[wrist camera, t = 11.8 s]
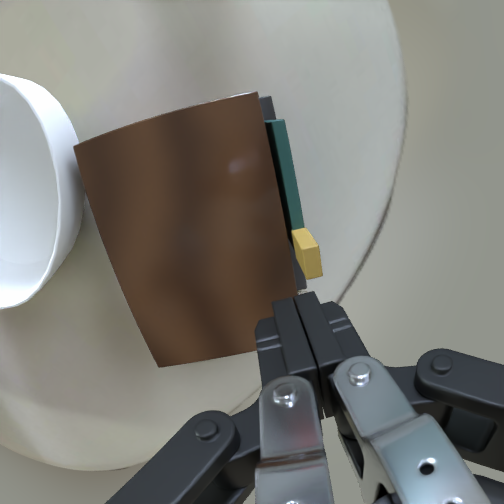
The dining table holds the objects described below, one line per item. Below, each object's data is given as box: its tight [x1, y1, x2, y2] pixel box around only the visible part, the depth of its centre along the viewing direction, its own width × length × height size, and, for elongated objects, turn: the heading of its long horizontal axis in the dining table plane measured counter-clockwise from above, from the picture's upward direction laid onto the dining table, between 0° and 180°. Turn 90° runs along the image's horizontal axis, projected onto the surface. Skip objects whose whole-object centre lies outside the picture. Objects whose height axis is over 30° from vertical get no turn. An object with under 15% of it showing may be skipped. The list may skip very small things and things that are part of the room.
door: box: [264, 119, 323, 280], centre depth 22 cm, size 1×9×10 cm, turn 11°
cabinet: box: [73, 91, 307, 368], centre depth 25 cm, size 14×18×8 cm
